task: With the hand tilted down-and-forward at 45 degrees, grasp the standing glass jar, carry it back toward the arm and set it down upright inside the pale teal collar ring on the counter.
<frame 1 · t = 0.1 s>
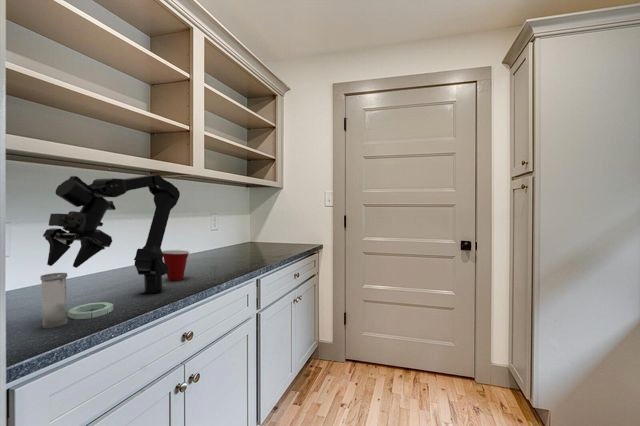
hand: (61, 266, 86), 15 cm above the worktop, tool tilted 35°, fingers open, 9 cm apart
collar ring: (91, 312, 94), on the worktop
glass jar: (55, 324, 85), on the worktop
plastic cup: (176, 279, 135), on the worktop
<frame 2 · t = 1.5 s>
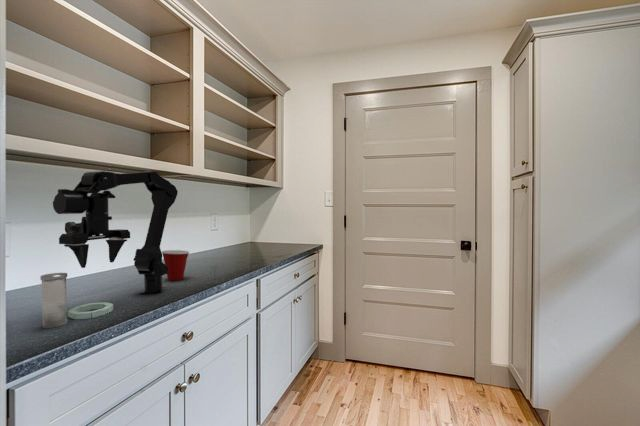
hand: (98, 264, 98), 13 cm above the worktop, tool pointing down, fingers open, 9 cm apart
nothing on the worktop moved.
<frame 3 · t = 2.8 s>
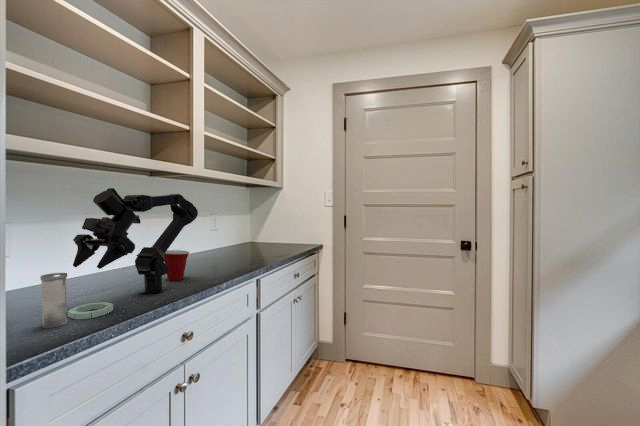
hand: (86, 267, 93), 13 cm above the worktop, tool tilted 45°, fingers open, 9 cm apart
nothing on the worktop moved.
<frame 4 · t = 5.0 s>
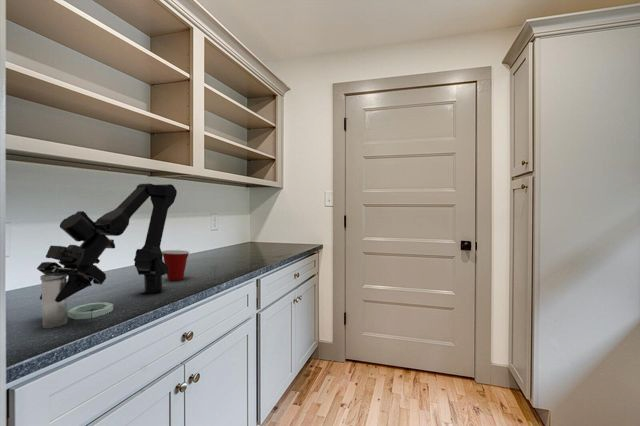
hand: (48, 300, 83), 7 cm above the worktop, tool tilted 45°, fingers closed on glass jar, 5 cm apart
glass jar: (55, 324, 85), on the worktop, touching gripper
everything else where it was.
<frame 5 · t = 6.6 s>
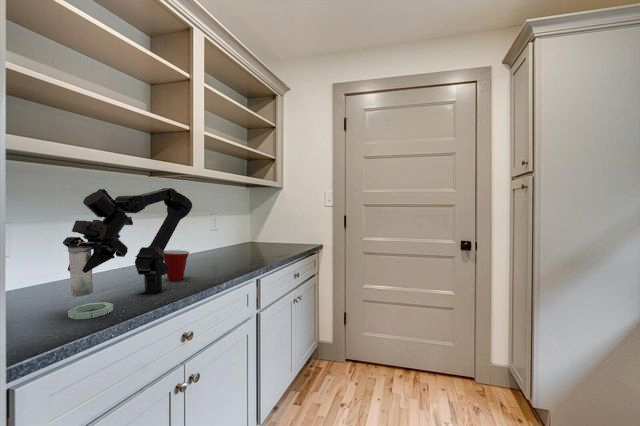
hand: (76, 271, 90), 13 cm above the worktop, tool tilted 45°, fingers closed on glass jar, 5 cm apart
glass jar: (82, 293, 91), point 6 cm above the worktop, touching gripper
everything else where it was.
when the fingers open (8 cm above the worktop, at t = 8.1 s): glass jar drops 2 cm, resting in collar ring.
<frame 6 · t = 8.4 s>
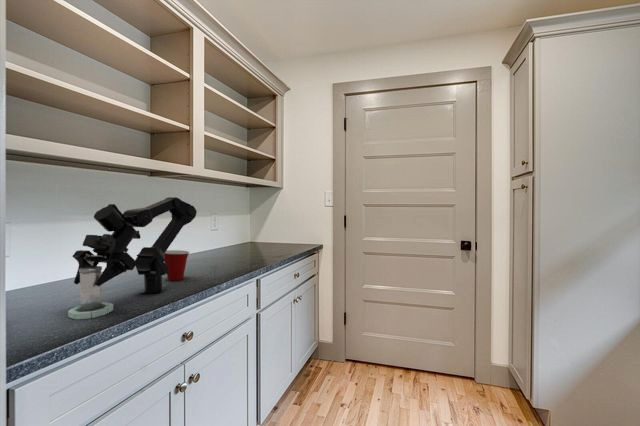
hand: (86, 284, 92), 9 cm above the worktop, tool tilted 45°, fingers open, 8 cm apart
glass jar: (91, 312, 94), resting in collar ring
everything else where it was.
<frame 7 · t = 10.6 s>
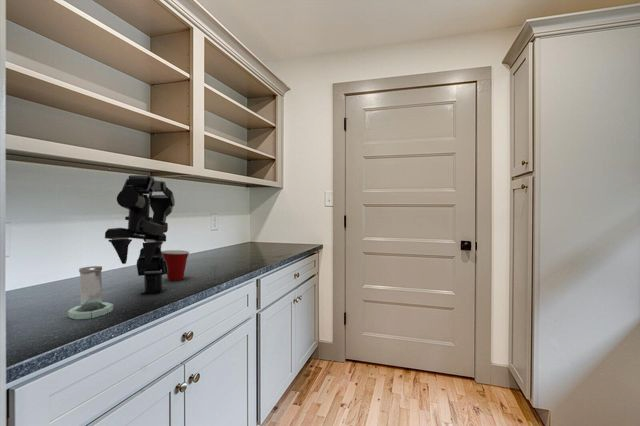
hand: (136, 263, 100), 13 cm above the worktop, tool pointing down, fingers open, 9 cm apart
nothing on the worktop moved.
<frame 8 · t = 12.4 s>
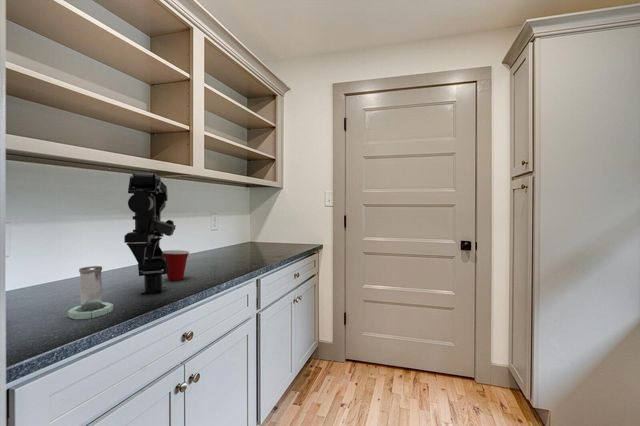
hand: (146, 262, 102), 13 cm above the worktop, tool pointing down, fingers open, 9 cm apart
nothing on the worktop moved.
at the end: glass jar 0.1 cm from the collar ring (horizontally); glass jar tilted 0°; glass jar resting in collar ring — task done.
